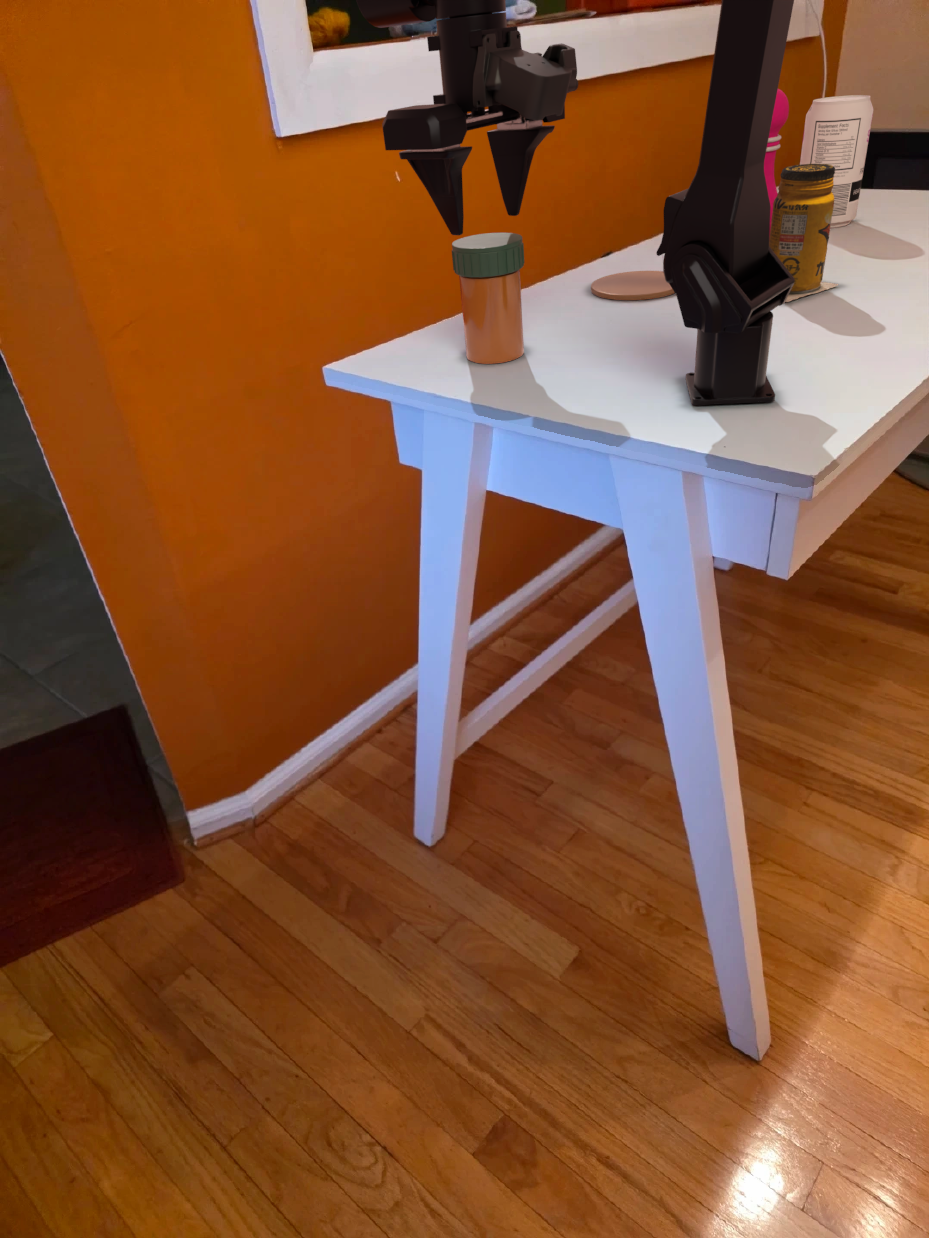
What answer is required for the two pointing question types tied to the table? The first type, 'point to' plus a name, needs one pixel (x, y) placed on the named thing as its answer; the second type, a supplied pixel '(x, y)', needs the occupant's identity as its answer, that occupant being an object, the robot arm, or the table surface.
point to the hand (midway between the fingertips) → (486, 225)
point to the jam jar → (492, 318)
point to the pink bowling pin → (774, 145)
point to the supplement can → (839, 147)
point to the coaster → (632, 286)
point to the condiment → (803, 225)
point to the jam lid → (488, 254)
